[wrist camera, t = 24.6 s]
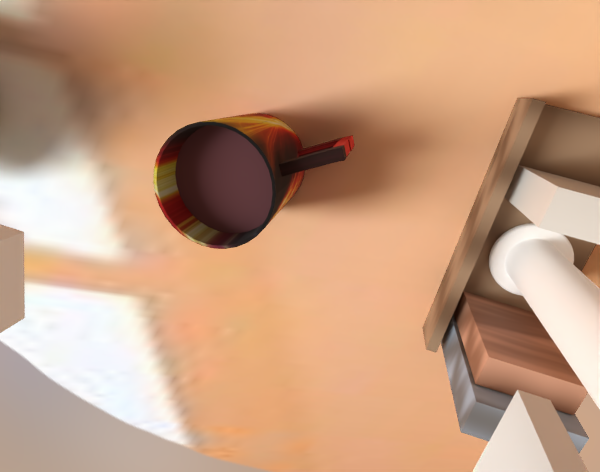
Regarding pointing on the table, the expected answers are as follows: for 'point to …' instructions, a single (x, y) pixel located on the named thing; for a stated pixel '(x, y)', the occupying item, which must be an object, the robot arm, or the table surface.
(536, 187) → the bookend
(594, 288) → the white round flared column
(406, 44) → the table surface
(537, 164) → the rack
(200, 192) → the mug
